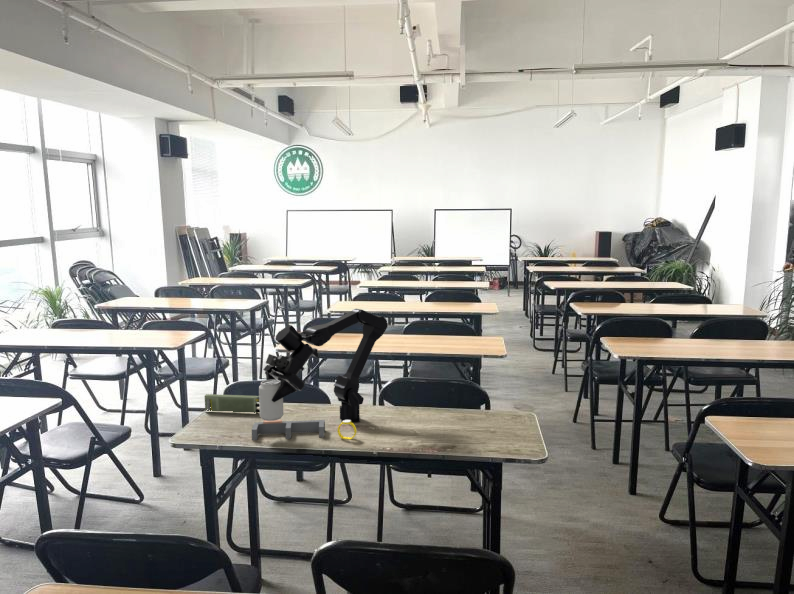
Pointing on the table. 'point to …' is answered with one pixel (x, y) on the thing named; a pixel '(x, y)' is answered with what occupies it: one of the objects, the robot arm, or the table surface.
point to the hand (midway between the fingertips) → (267, 398)
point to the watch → (351, 425)
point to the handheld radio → (231, 403)
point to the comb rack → (288, 427)
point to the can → (270, 400)
